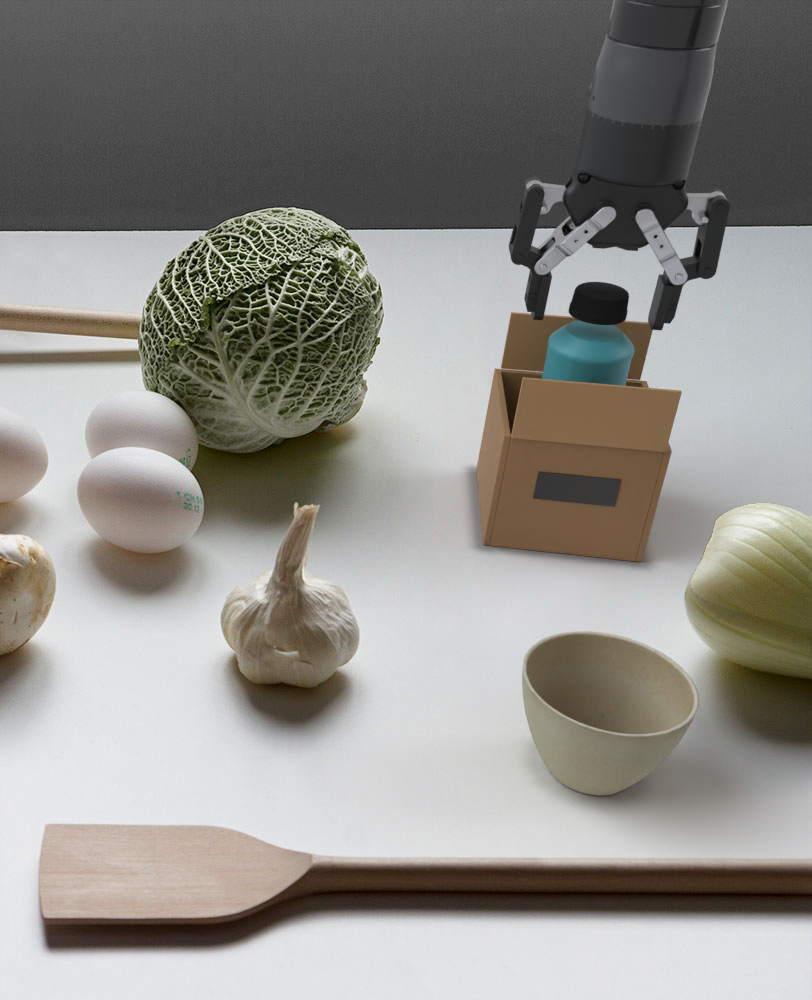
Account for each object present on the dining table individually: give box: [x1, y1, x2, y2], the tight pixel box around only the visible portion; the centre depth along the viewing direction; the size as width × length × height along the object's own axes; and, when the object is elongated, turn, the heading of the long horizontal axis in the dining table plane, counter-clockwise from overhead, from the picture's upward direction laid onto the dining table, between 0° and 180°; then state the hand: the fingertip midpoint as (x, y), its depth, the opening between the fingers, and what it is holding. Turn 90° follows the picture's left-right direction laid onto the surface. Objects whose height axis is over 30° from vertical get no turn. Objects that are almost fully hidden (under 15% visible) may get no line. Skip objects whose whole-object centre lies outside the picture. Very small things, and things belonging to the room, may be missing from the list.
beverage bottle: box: [542, 281, 634, 386], centre depth 102 cm, size 6×7×20 cm
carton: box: [475, 311, 682, 563], centre depth 104 cm, size 12×13×15 cm
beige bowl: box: [521, 630, 700, 796], centre depth 80 cm, size 10×10×7 cm
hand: (595, 321), depth 98 cm, fingers open, 8 cm apart
